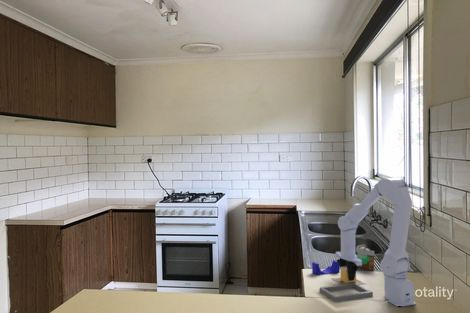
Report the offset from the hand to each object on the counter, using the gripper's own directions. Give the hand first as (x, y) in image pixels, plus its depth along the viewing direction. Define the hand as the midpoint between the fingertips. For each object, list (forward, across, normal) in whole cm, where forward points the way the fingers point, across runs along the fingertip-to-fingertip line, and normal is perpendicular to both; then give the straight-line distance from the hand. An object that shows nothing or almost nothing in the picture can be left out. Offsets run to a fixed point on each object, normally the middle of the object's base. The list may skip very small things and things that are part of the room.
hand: (348, 278), depth 138 cm
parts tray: (+2, -11, +10) cm, 15 cm away
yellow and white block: (+1, 0, 0) cm, 1 cm away
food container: (+2, +14, -20) cm, 24 cm away
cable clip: (+2, +13, +2) cm, 14 cm away
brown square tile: (+2, 0, 0) cm, 2 cm away
